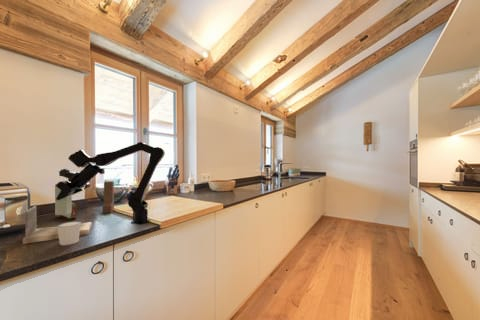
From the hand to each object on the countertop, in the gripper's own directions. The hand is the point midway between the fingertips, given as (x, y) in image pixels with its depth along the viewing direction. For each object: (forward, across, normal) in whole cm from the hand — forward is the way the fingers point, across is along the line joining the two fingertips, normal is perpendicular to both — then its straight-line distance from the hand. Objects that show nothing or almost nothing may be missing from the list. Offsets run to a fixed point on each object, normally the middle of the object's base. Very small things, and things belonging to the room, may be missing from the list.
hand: (60, 198), depth 96 cm
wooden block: (+2, -26, +17) cm, 31 cm away
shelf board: (+6, +10, +13) cm, 18 cm away
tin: (+14, -18, +6) cm, 23 cm away
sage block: (+4, 0, +6) cm, 7 cm away
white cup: (0, +21, +19) cm, 28 cm away
